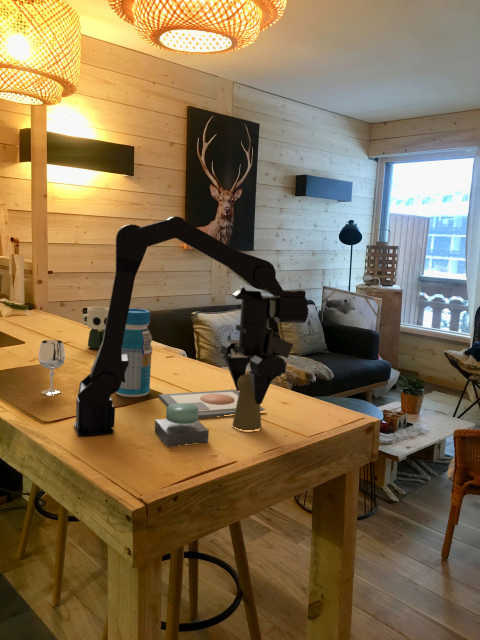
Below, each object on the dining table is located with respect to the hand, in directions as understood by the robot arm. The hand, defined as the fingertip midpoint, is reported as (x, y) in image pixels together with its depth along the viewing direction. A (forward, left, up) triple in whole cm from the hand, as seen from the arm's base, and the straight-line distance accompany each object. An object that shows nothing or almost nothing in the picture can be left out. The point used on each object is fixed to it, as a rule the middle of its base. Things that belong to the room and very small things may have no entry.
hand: (248, 396), depth 111 cm
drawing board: (-2, +15, -6) cm, 16 cm away
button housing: (-15, -2, -6) cm, 16 cm away
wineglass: (-35, +32, -7) cm, 48 cm away
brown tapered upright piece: (0, 0, -7) cm, 7 cm away
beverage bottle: (-17, +28, -7) cm, 33 cm away
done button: (-15, -2, -3) cm, 15 cm away
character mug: (-16, +78, -7) cm, 80 cm away
